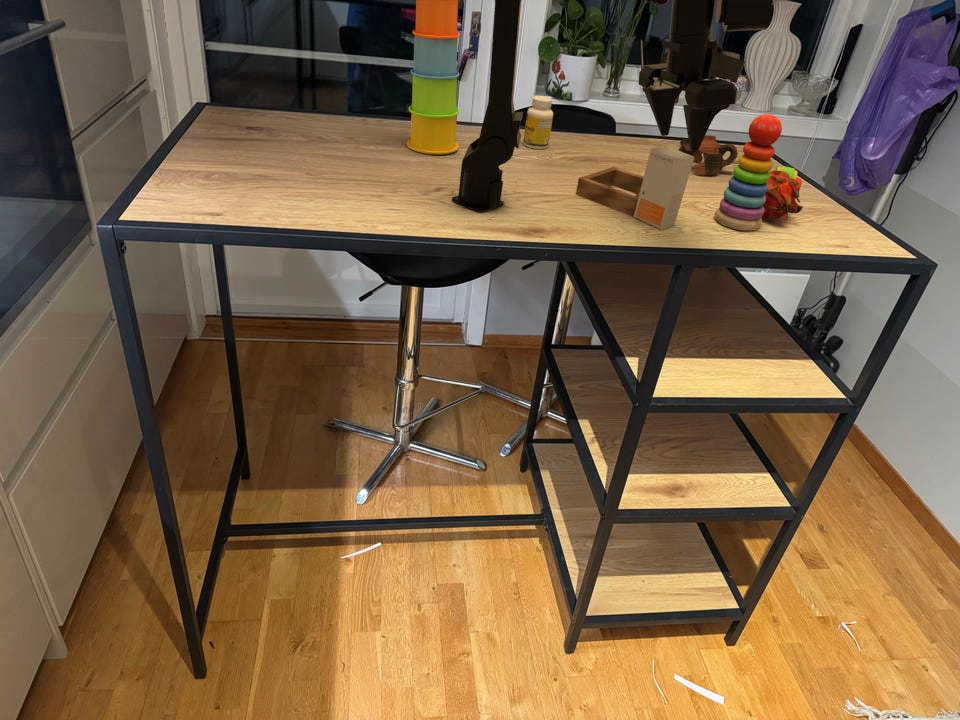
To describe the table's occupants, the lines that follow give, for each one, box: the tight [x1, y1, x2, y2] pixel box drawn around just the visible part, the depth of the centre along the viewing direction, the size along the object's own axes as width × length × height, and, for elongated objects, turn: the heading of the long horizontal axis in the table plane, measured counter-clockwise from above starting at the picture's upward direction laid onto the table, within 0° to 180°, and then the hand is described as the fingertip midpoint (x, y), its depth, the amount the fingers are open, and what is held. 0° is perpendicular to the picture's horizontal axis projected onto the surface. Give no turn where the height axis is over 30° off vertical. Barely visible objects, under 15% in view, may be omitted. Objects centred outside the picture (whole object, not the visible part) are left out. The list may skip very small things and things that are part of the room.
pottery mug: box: [677, 134, 739, 177], centre depth 148 cm, size 12×10×8 cm
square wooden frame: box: [575, 166, 644, 217], centre depth 130 cm, size 12×20×3 cm, turn 139°
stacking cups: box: [406, 0, 461, 155], centre depth 131 cm, size 10×10×35 cm
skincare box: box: [633, 145, 694, 230], centre depth 117 cm, size 6×4×12 cm
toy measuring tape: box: [775, 165, 803, 191], centre depth 138 cm, size 6×19×7 cm, turn 159°
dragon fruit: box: [761, 169, 803, 222], centre depth 128 cm, size 8×8×12 cm
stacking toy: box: [714, 113, 783, 232], centre depth 119 cm, size 8×8×19 cm
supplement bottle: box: [522, 95, 554, 150], centre depth 147 cm, size 5×5×10 cm
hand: (679, 142), depth 109 cm, fingers open, 9 cm apart
